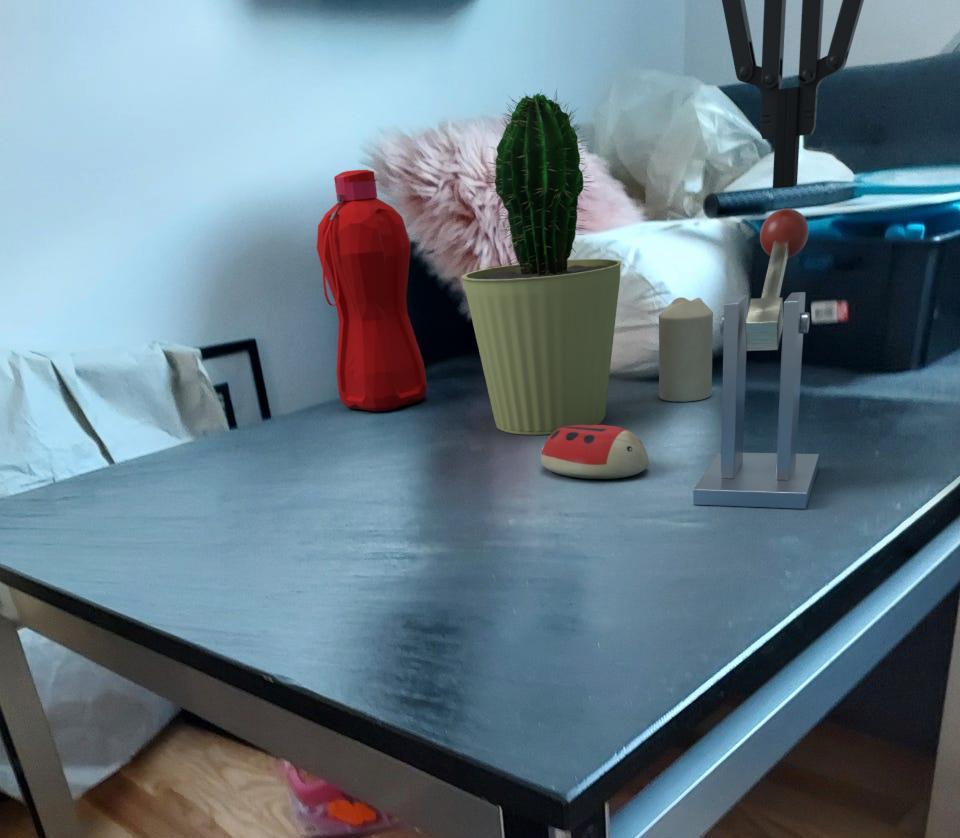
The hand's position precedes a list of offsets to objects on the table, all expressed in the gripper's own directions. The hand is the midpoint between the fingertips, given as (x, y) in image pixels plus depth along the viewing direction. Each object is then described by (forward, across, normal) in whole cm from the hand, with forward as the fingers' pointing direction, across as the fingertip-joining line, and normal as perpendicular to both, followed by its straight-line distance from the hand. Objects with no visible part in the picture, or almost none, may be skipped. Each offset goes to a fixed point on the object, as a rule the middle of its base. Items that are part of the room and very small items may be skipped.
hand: (784, 186), depth 72 cm
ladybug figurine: (+21, +14, +7) cm, 26 cm away
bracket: (+21, 0, +10) cm, 23 cm away
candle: (+21, +12, -21) cm, 31 cm away
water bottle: (+21, +47, -16) cm, 54 cm away
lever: (+7, 0, +4) cm, 8 cm away
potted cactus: (+21, +23, -10) cm, 33 cm away
